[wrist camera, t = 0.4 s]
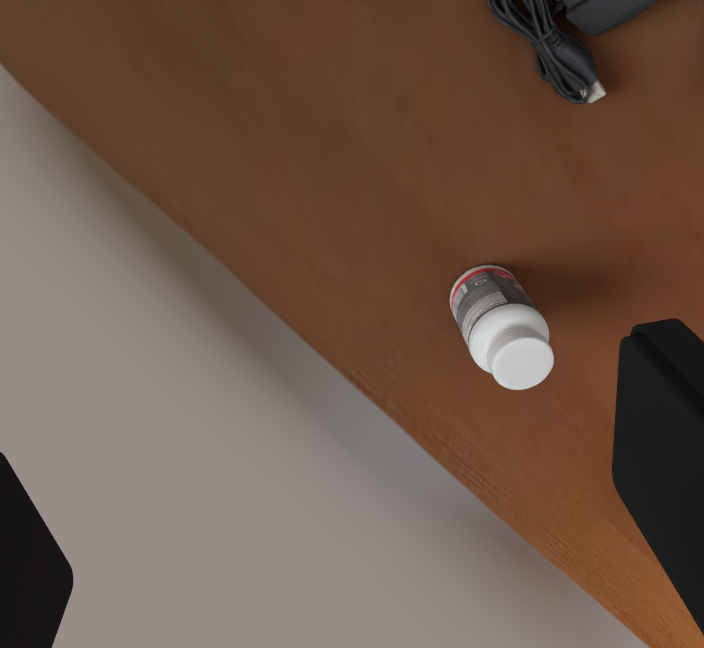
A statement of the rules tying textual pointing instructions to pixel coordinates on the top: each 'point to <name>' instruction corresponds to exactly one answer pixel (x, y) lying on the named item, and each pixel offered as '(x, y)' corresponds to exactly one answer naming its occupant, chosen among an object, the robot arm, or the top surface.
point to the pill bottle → (502, 327)
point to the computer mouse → (567, 39)
